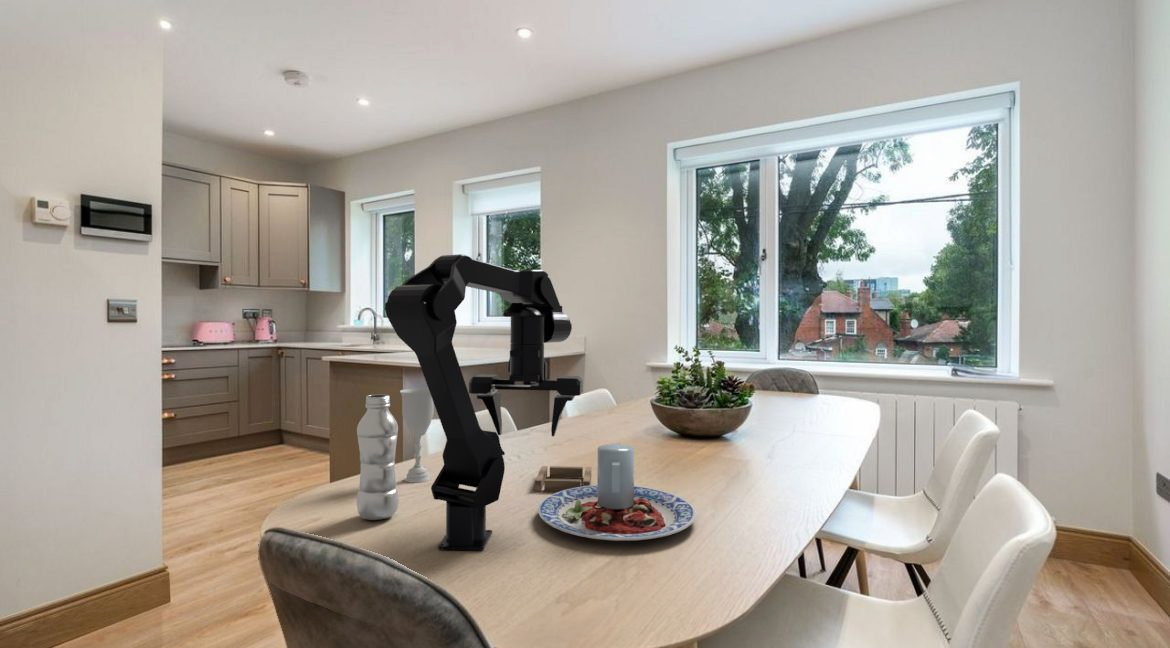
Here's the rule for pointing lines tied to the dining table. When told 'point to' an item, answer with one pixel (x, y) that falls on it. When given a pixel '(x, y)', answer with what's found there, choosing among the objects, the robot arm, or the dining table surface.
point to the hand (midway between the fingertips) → (526, 435)
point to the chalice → (417, 426)
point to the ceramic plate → (617, 514)
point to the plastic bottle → (377, 460)
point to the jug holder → (562, 473)
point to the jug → (615, 476)
